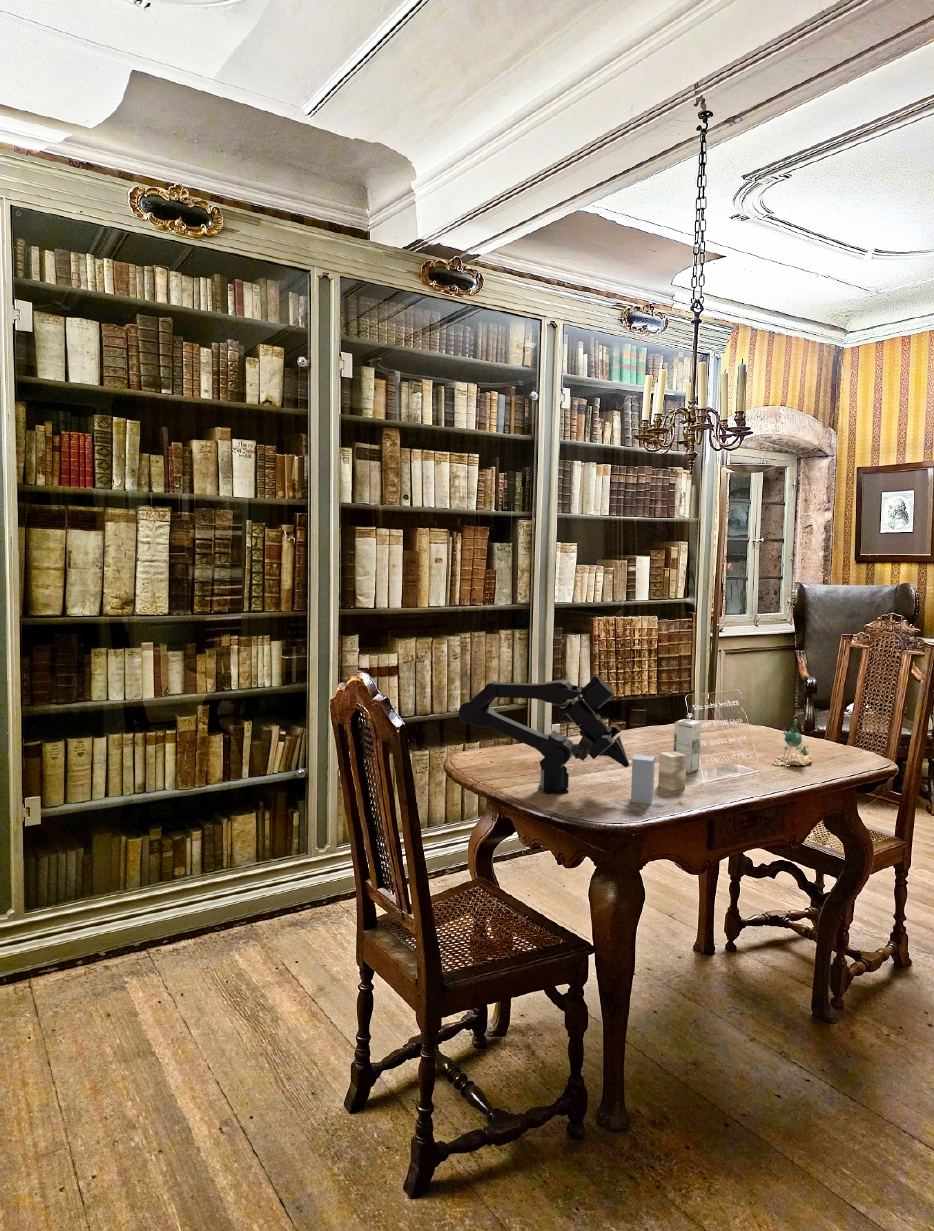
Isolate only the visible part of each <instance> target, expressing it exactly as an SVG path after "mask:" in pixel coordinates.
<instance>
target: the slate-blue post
mask: <svg viewBox="0 0 934 1231" xmlns="http://www.w3.org/2000/svg"><path fill="white" fill-rule="evenodd" d="M631 759H632V761H631V792H630V803H638V804H647V805H652V803H653V800H654V789H655V788H654V787H655V786H654V785H655V762H656V760H655V759H656V756H654V755H643V754H634V756H633V757H632V758H631Z"/></svg>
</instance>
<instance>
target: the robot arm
mask: <svg viewBox="0 0 934 1231" xmlns="http://www.w3.org/2000/svg"><path fill="white" fill-rule="evenodd" d="M614 695H616V692H615V691H614V689H613V687H612V686H611V685H610V684H609V683H608V682H606V681H605V680H604V679H602V678H601V677H600V676H599V675H597V674H596V675H595V676H593V677H592V678H591V679H590V681H589V682H588V683H586V684H585V686H579V685H576V684H572V683H571V682H570V681H569V680H567V679H557V680H550V681H545V682H540V683H533V682H532V683H527V682H498V681H491V682H489V683H487V684H485V686H484V688H483V689H482V690H481V691H479V693H477V694H476V695H475V696H474V697H473V698H472V699H470V700H468V701H466V702H464V703H462V704H461V705H460V707H459V709H458V716H459V719H460V720H461V721H462V722H463V723H465V724H468V725H471V726H476V727H482V728H489V729H492V730H493V731H495V732H498V733H500V734H502V735H505V736H506V737H509V738H512V739H514V740H516V741H518V742H520V743H522V744H524V745H526V746H529V747H531V748H534V749H535V750H537V751H538V752H539V753H540V754H541V756H543V758H542V759H541V760H540V761H539V765H540V784H538V786H537V787H538V788H539V789H540V790H541V791H542V792H543V793H544V794H564V793H565V794H566V793H569V780H570V779H569V777H570V776H569V775H570V774H569V773H568V767H566V766H565V765H566V764H567V763H568V762H569V761H570V760H571V759H572V758H573V757H574V759H575V760H577V759H579V760H580V761H585V760H586V759H587V757H588V755H589V756H590V757H591V759H592V760H595V759H596V758H597V757H598V756H599V757H602V756H603V757H608V758H611V759H612V760H614V761H615V762H617V763H618V764H620V765H621V766H623V767H624V768H628V767H629V766H630V762H629V759H628V757H627V754H626V751H625V748H624V745H623V742H622V738H621V735H618V734H620V733H621V732H622V728H621V727H620V726H619V725H618V724H610V725H609V726H607V725H606V723H604V722H603V721H602V719H601V718H602V716H601V715H600V714H596V713H595V711H593V709H594V708H596V709H600V708H601V707H603V705H605V704H606V703H607V702H608V701H610V699H611V698H612V697H613V696H614ZM579 696H581V697H580V698H579V699H578V700H577V701H575V700H576V699H577V698H578V697H579ZM496 698H501V699H502V698H505V699H533V700H539V701H543V702H545V703H548V704H549V703H550V704H554V705H563V704H565V703H567V702H568V701H569V700H570V701H569V702H568V703H567V704H566V705H565V706H559V707H558V718H559V719H562V718H563V717H565V715H566V716H567V717H568V718H569V719H570V720H571V721H572V722H573V723H574V724H575V726H577V728H578V729H579V735H580V736H581V738H580V740H579V742H578V743H573V741H572V740H570V739H569V736H568V735H563V734H561V733H559V732H557V731H556V730H553V731H552V732H551V733H549V734H545V733H542V732H540V731H537V730H535V729H533V728H531V727H528V726H526V725H524V724H521V723H520V722H518V721H515V720H513V719H510V718H508V717H506V716H504V715H502V714H500V713H498V712H496V711H495V710H494V709H493V708H492V706H490V705H491V704H492V703H493V701H495V699H496ZM617 735H618V736H617ZM616 736H617V737H616ZM615 737H616V738H615Z"/></svg>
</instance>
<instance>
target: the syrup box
mask: <svg viewBox="0 0 934 1231" xmlns="http://www.w3.org/2000/svg"><path fill="white" fill-rule="evenodd" d="M701 731H702V722H701V721H698V720H696V719H695V720H694V719H688V718H686V719H685V718H684V719H683V718H682V719H680V720H677V721H674V736H673V751H675V752H678V753H681V754H684V755H686V773H688V774H692V773H694V772H696V771H698V770H699V768H700V764H699V763H700V750H701V736H702V735H701Z"/></svg>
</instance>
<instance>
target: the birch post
mask: <svg viewBox="0 0 934 1231" xmlns="http://www.w3.org/2000/svg"><path fill="white" fill-rule="evenodd" d="M658 758H659V760H658V784H657V785H658V787H661V788H664V789H666V790H668V791H675V790H685V789H686V775H687V774H686V773H687V772H686V755H684V754H681V753H678V752H675V751H674V750H673V751H665V752H664V751H663V752H659V757H658Z"/></svg>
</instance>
